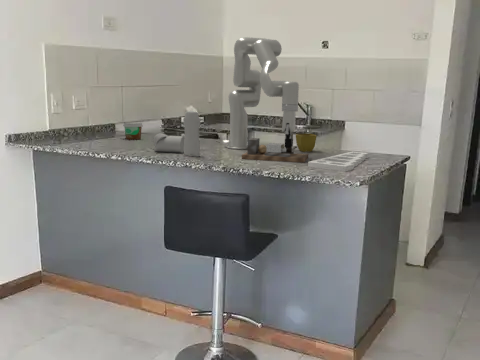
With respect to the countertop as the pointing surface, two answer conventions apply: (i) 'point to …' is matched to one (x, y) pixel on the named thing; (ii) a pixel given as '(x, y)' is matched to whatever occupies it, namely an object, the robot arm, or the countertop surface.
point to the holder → (339, 161)
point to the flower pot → (305, 142)
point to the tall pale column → (191, 134)
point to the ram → (278, 148)
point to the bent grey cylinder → (168, 143)
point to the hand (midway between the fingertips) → (288, 146)
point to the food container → (133, 131)
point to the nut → (262, 149)
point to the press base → (270, 154)
